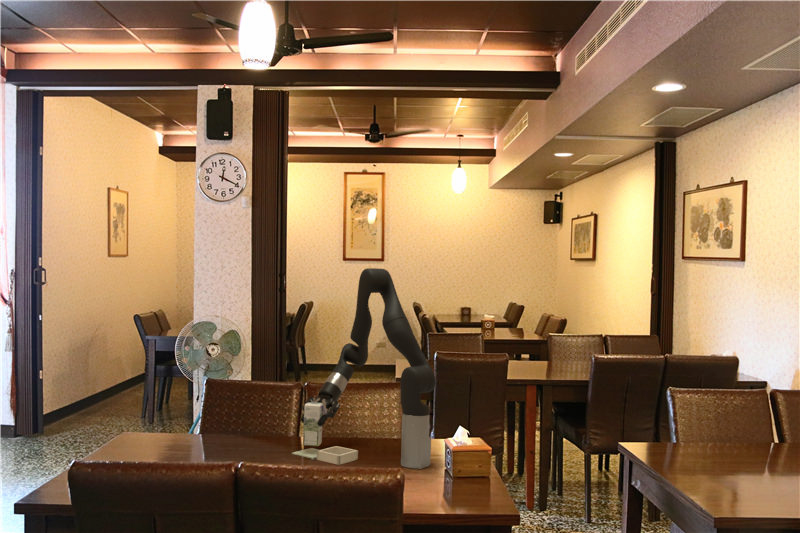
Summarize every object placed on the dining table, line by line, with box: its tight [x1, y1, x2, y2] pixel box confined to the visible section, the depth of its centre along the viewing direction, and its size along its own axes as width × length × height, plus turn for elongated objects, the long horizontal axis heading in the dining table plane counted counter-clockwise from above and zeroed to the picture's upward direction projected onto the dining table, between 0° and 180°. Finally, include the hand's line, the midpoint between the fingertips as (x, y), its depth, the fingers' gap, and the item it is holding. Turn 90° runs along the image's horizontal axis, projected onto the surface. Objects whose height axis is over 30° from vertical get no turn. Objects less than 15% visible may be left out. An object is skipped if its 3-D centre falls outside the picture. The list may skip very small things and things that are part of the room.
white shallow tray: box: [291, 445, 359, 466], centre depth 215 cm, size 22×13×3 cm, turn 55°
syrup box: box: [302, 402, 324, 447], centre depth 219 cm, size 6×6×14 cm
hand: (310, 423), depth 218 cm, fingers closed on syrup box, 7 cm apart
